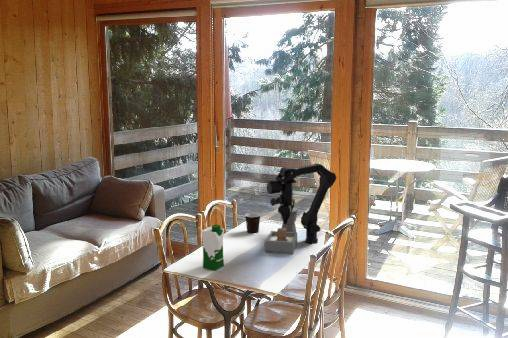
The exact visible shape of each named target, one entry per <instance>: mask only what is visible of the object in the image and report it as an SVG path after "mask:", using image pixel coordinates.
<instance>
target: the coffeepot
mask: <svg viewBox="0 0 508 338" xmlns="http://www.w3.org/2000/svg"><path fill="white" fill-rule="evenodd" d="M297 215H298V209H297V207H294V208H293V210H292V213H291V215H290V218H289V219H288V221H287V224H284V221H283V217H282V214H280V218H281V221H282V223H281V228H286V232H296V233H297V227H296V220H297Z"/></svg>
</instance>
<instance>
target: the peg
mask: <svg viewBox="0 0 508 338" xmlns="http://www.w3.org/2000/svg"><path fill="white" fill-rule="evenodd" d="M276 231H277V241H286V228H282V227H278V228H277V230H276Z"/></svg>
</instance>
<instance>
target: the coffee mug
mask: <svg viewBox="0 0 508 338" xmlns="http://www.w3.org/2000/svg"><path fill="white" fill-rule="evenodd" d="M244 217H245V224H246V225H245V227H246V232H248V233H247V234H250V233H251V234H253V235H255V234H254V233H256V234H258V233H259V231H260V223H261V214H260V213H257V212H248V213H245V214H244Z"/></svg>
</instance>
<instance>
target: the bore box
mask: <svg viewBox="0 0 508 338" xmlns="http://www.w3.org/2000/svg"><path fill="white" fill-rule="evenodd" d="M264 243H265V244H264V245H265V247H264V248H265V249H264V251H265V253H270V254H284V255H287V254H288V255H294V253H295V250H296V248H297V245H298V232H297V231H296V232H286V241H277V230H276V231H275V230H270V232H269V234H268V235H267V237H266V239H265V242H264Z"/></svg>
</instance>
